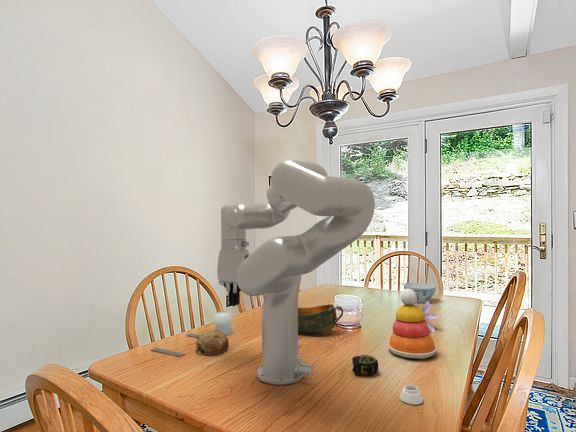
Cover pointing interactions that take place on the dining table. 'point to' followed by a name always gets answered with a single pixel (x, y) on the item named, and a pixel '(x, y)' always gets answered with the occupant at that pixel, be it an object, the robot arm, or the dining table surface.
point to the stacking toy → (411, 330)
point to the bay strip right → (193, 335)
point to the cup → (223, 322)
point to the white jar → (411, 395)
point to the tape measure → (364, 365)
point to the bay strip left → (168, 352)
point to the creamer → (317, 320)
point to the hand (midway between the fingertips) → (234, 304)
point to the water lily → (428, 315)
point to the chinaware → (421, 290)
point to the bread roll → (212, 343)
